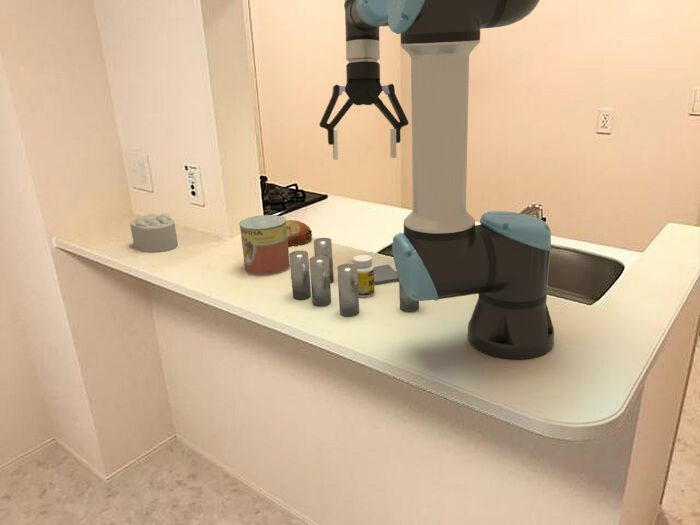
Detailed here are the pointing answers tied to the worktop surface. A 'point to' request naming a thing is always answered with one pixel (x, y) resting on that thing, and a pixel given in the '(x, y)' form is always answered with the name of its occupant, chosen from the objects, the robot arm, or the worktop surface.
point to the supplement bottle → (365, 275)
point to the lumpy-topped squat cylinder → (154, 233)
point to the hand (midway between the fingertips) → (364, 158)
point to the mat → (385, 275)
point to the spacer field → (331, 280)
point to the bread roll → (297, 233)
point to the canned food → (265, 245)
